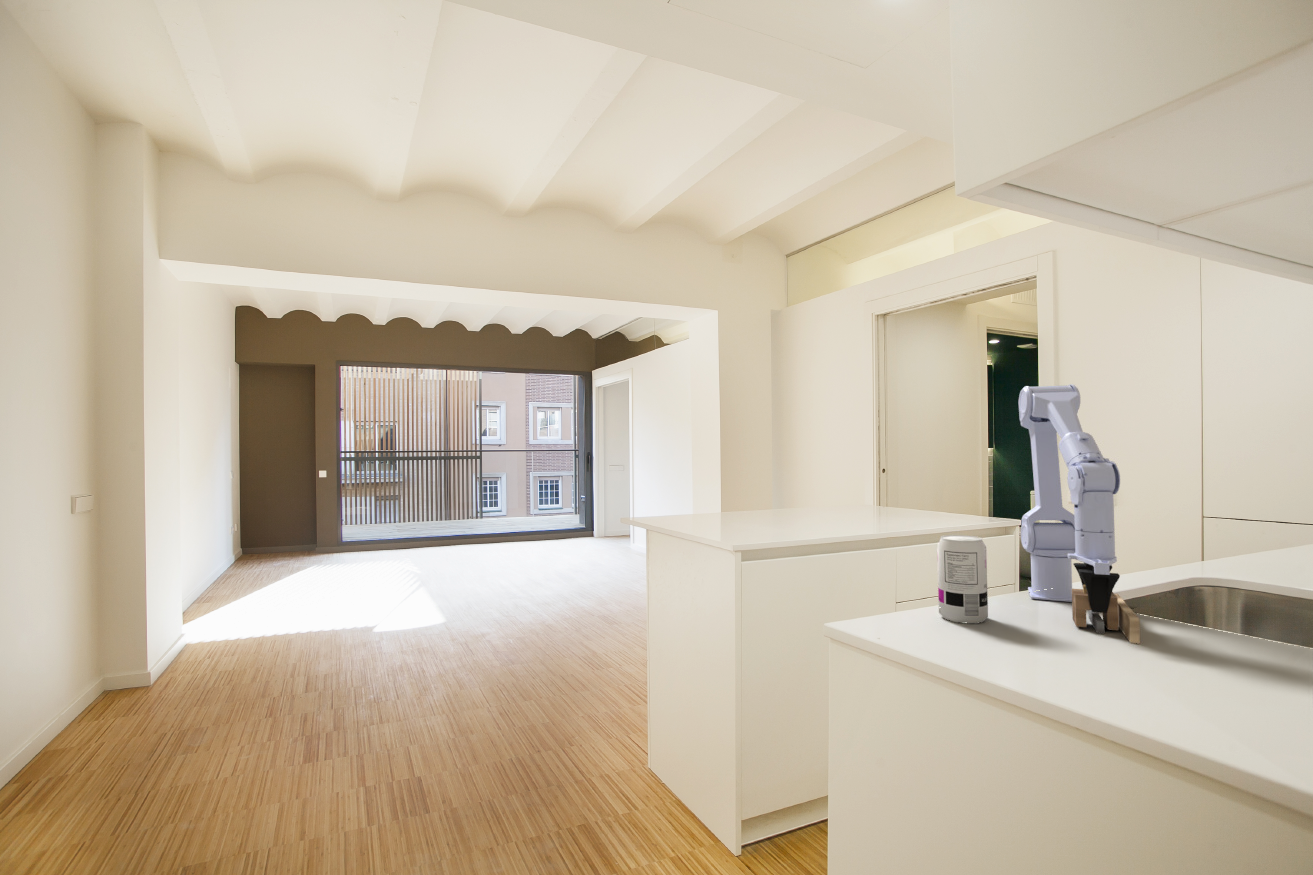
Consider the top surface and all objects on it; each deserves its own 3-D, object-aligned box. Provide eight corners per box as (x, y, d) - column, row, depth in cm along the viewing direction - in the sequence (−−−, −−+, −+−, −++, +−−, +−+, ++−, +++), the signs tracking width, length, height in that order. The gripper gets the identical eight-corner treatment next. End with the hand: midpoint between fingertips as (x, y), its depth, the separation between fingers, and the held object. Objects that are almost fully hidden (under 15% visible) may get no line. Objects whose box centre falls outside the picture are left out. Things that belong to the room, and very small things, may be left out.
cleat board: (1085, 612, 119) (1084, 591, 119) (1118, 615, 116) (1117, 593, 116) (1101, 639, 103) (1100, 615, 103) (1139, 643, 100) (1139, 618, 100)
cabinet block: (1072, 618, 113) (1071, 581, 113) (1113, 622, 111) (1111, 584, 111) (1076, 626, 109) (1075, 587, 109) (1118, 630, 106) (1117, 590, 106)
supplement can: (929, 614, 119) (927, 536, 119) (964, 610, 122) (962, 533, 122) (962, 626, 112) (959, 542, 112) (998, 621, 114) (996, 539, 114)
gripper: (1062, 524, 118) (1064, 596, 118) (1072, 535, 105) (1074, 616, 105) (1108, 525, 115) (1110, 600, 115) (1124, 537, 102) (1126, 620, 102)
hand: (1096, 608), depth 110 cm, fingers closed on cabinet block, 5 cm apart
